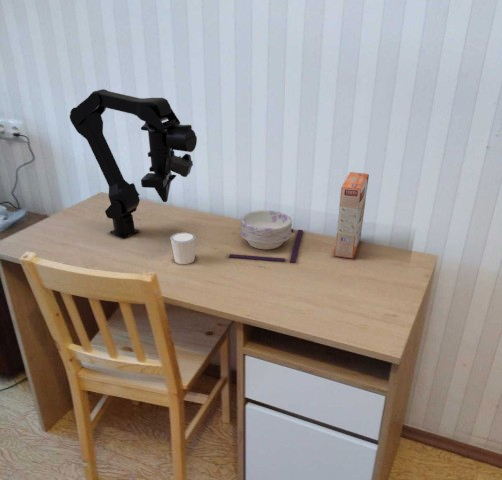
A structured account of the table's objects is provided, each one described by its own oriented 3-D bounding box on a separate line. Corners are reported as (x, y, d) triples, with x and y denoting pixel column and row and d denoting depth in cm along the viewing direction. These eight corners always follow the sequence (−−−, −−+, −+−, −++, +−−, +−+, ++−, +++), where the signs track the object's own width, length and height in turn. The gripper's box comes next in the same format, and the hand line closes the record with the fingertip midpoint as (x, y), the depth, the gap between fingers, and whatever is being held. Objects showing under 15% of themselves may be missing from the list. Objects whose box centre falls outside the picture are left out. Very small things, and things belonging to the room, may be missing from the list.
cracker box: (354, 259, 151) (362, 188, 140) (333, 256, 153) (339, 186, 142) (362, 240, 162) (370, 172, 151) (342, 237, 164) (348, 170, 153)
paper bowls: (297, 237, 164) (298, 213, 160) (280, 258, 152) (281, 232, 148) (252, 229, 169) (252, 206, 165) (232, 248, 157) (231, 223, 153)
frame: (228, 257, 152) (228, 256, 152) (243, 226, 171) (243, 225, 171) (295, 262, 150) (295, 261, 149) (302, 231, 168) (302, 229, 168)
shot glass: (172, 254, 154) (170, 232, 150) (196, 253, 155) (195, 231, 151) (171, 265, 148) (169, 242, 145) (196, 264, 149) (195, 241, 145)
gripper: (178, 158, 137) (182, 215, 145) (197, 140, 153) (200, 192, 161) (137, 156, 139) (143, 212, 147) (160, 138, 155) (165, 190, 163)
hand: (165, 201), depth 155 cm, fingers closed
